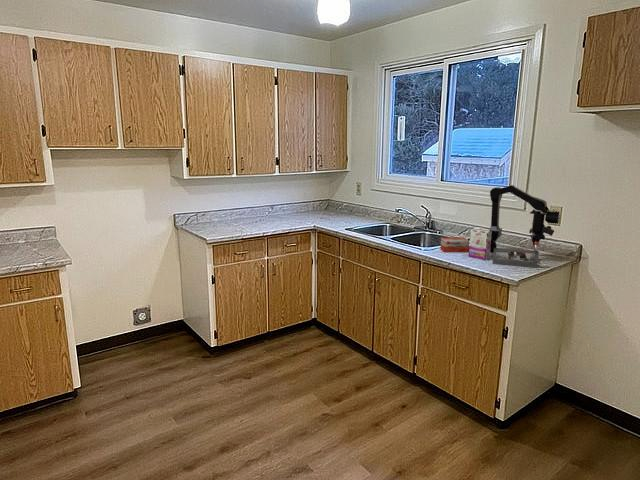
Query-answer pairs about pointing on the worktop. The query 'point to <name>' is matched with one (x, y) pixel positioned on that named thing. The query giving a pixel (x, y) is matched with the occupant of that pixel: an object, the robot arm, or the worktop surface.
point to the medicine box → (454, 244)
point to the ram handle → (535, 248)
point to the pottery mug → (521, 255)
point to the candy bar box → (480, 244)
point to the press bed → (515, 262)
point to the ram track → (534, 259)
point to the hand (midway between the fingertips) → (535, 248)
